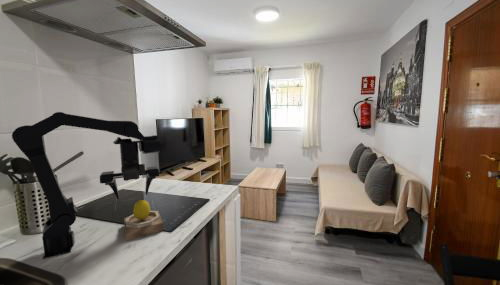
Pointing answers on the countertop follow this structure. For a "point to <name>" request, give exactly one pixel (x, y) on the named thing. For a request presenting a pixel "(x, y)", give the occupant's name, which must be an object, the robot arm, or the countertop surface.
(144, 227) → the wooden bowl
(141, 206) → the lemon
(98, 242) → the countertop surface
